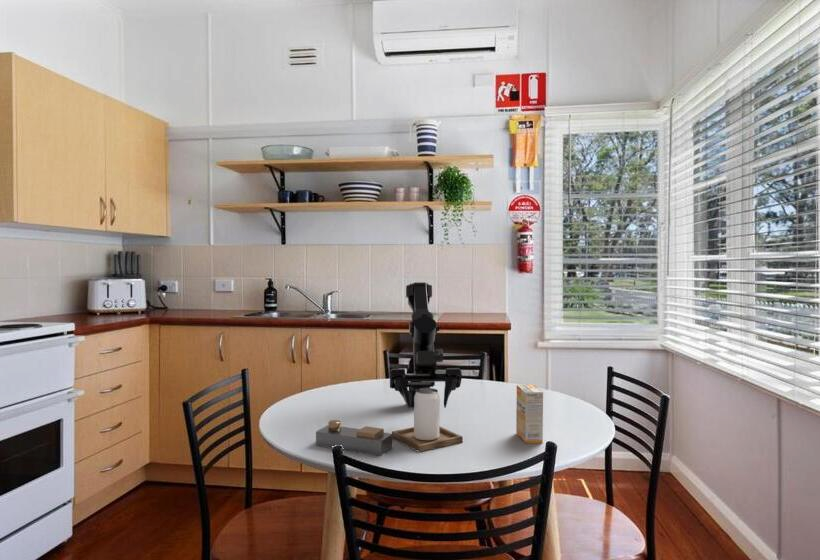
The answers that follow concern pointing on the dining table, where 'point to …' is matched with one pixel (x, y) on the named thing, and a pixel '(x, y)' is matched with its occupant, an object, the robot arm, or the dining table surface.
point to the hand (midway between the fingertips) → (427, 406)
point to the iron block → (354, 438)
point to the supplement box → (529, 414)
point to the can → (426, 414)
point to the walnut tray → (443, 440)
